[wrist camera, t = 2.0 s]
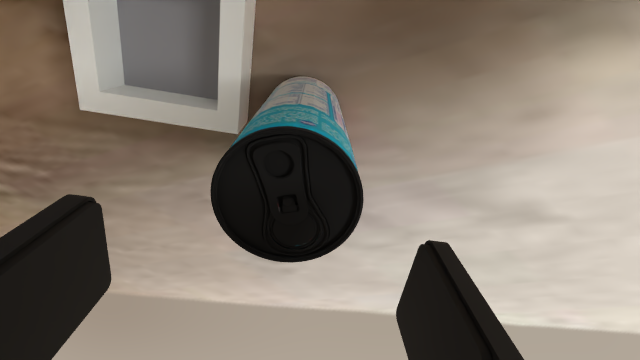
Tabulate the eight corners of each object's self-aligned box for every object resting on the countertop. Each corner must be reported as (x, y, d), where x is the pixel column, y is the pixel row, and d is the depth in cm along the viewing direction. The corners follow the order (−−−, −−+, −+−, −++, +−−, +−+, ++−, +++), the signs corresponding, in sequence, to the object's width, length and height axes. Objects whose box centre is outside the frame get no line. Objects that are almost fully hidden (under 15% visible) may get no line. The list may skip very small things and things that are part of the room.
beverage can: (269, 146, 27) (219, 262, 13) (265, 74, 24) (200, 126, 11) (338, 147, 27) (358, 264, 14) (342, 75, 25) (370, 130, 11)
